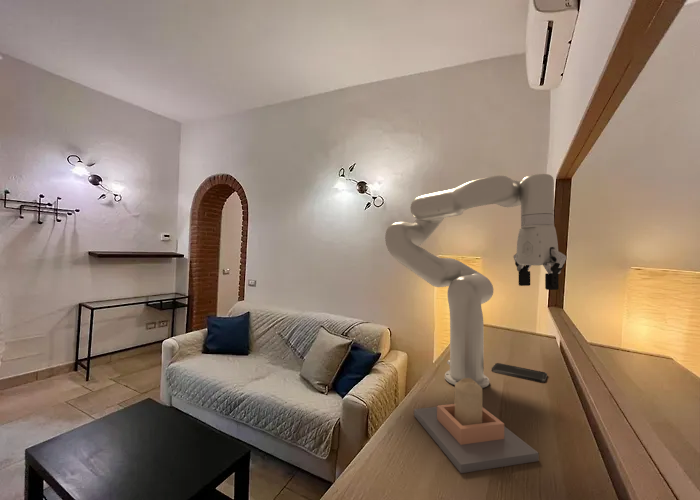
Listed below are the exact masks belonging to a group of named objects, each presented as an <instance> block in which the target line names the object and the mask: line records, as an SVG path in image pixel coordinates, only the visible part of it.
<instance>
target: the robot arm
mask: <svg viewBox="0 0 700 500" xmlns="http://www.w3.org/2000/svg"><path fill="white" fill-rule="evenodd" d="M489 205H498V206H500V207H504V208H515V207H519V206H520V228H519V230H518V235H517V241H516V253H515V254H513V256H512V257H513V261H514V264H515V266H516V270H517V272H518V286H519V287H528V286H529V287H530V286H531V271H530V268H531V267H532V266H537V267H538V266H542V267H543V268H544V269H545V271H546V272H547V273H545V275H544V278H545V279H544V281H545V283H544V284H545V285H544V286H545V287H544V288H545V290H546V291H548V290H549V291H553V290H555V291H556V290H557V291H558V290H559V285H560V282H559V278H560V277H559V276H560V274H561V273H562V269H563V268H564V267H565V263H566V261H567V255H565V254H564V253H563V252H561V251H559V245H558V243H559V242H558V235H557V230H556V227H555V180H554V176H553V175H552V174H548V173H537V174H535V173H534V174H531V175H527V176H525V177H524V178H522V180H516V179H515V180H514V179H512V178H511V177H508V176H506V175H492V176H488V177H483V178H478V179H475V180H471V181H468V182H465V183H463V184H461V185H459V186H456V187H455V188H451V189H447V190H442V191H436V192H432V193H427V194H422V195H420V196H417V197H415V199H413V201H412V202H411V204H410V207H409V208H410V213H411V215H412V216H413V217H414V218H415V220H414V222H406V221H398V222H394V223H392V224H390V225H389V226H388V227H387V229H386V230H385V235H384V236H385V237H384V239H385V241H384V242H385V245H386V248H387V251H388V253H389V254H390V255H391V256H392V257H393V259H394V260H395V261H397V262H398V263H399V264H401V265H402V266H404V267H405V268H406V269H408V270H409V271H411V272H412V273H414V274H415V275H417V276H418V277H420V279H422V280H424V281H425V282H426V283H429V285H431V286H433V287H436V288H444V287H448V288H447V301H448V309H449V328H450V329H449V345H450V346H449V360H447V361H446V363H447V364H448V365H449V369H448V370H447V371H446V372H445V373H444V379H445V380H446V381H447V382H448V383H449V384H451V385H454V386H455V384H456V383H457V382H459V381H460V380H462V379H463V378H471V379H472V380H474V381H475V382H476V383H477V384H479V385H480V386H481V388H482V389H484V388H486V387H488V386H489V385H490V378H489V377H488V376H487V375H485V374H484V369H485V368H484V367H485V366H484V364H485V363H484V360H485V359H484V357H485V356H484V354H485V353H484V349H485V347H484V344H485V343H484V342H485V341H484V339H485V337H484V335H485V333H484V331H485V330H484V315H483V310H482V304H486V303H487V302H489V301H490V300H491V298H492V297H493V296H494V286H493V283H492V282H491V280H490V279H489V278H488V277H486V276H485V275H484V274H482V273H480V272H479V271H477V270H475V269H474V268H472V267H470V266H469V265H467V264H465V263H463V262H462V261H459V260H457V259H455V258H451V257H438V256H437V255H434V254H433V253H431V252H429V251H428V250H427V249H425V248H422V247H421V245H423V244H424V243H426V241H427V240H429V238H430V237H431V236H432V234H433V233H434V232H435V231H436V229H437V228H438V227H439V226H440V225H441V223H442V222H443V221H444V220H445V218H451V217H458V216H461V215H463V214H464V212H465V211H466V210H469V209H472V208H477V207H482V206H489Z"/></svg>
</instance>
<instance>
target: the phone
mask: <svg viewBox="0 0 700 500" xmlns="http://www.w3.org/2000/svg"><path fill="white" fill-rule="evenodd" d="M491 372H492V373H497V374H501V375H505V376H511V377H514V378H518V379H523V380H529V381H532V382H537V383H545V382H546V380H547V377H548V373H547V372H544V371H540V370H535V369H530V368H526V367H519V366H515V365H510V364H505V363H499V362H496V363H494V365H493V366H492V367H491Z"/></svg>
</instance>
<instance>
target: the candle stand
mask: <svg viewBox="0 0 700 500" xmlns="http://www.w3.org/2000/svg"><path fill="white" fill-rule="evenodd" d="M413 416H414V417H415V419H416V420H417V421H418V423H419V424H420V425H421V427H423V429H424V430H425V431H426V432H427V434H428V435H429V436H430V437H431V438H432V439H433V441H434V443H436V445H437V446H438V447H439V448H440V450H441V451H442V452H443V453H444V454H445V456H446V457H447V458H448V459H449V460H450V462H451V463H452V464H453V465H454V467H455V468H456V469H457V470H458V472H459V473H460V474H465V473H472V472H478V471H484V470H489V469H490V470H491V469H497V468H504V467H511V466H515V465H523V464H527V463H534V462H539V459H540V458H539V457H540V456H539V455H540V454H539V452H538V451H537V450H536V449H534V448H533V447H532V446H530V445H529V444H528V443H527V442H525V441H524V440H522V439H521V438H520V437H519V436H518V435H516V434H515V433H514V432H513V431H511V430H510V429H509V428H507V427H506V426H505V423H504V422H503V421H501V420H500V419H499V418H498V417H496V416H495V415H494V414H492V413H491V412H490V411H488V410H487V408H485V407H483V406H482V423H481V424H473V425H465V426H462V425H461V424H460V423H459V422H458V421H457V420H456V419H455V403H451V404H450V403H449V404H439V405H437V406H431V407H420V408H414V409H413Z"/></svg>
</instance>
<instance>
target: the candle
mask: <svg viewBox="0 0 700 500" xmlns="http://www.w3.org/2000/svg"><path fill="white" fill-rule="evenodd" d="M454 404H455V419H456V420H457V421H458V422H459V423H460V424H461V425H462V426H465V425H473V424H481V423H482V407H483V388H481V386H480V385H479V384H477V383H476V382H475V381H474V380H472V379H471V378H463V379H462V380H460V381H459V382H457V383H456V384H455V385H454Z"/></svg>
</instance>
